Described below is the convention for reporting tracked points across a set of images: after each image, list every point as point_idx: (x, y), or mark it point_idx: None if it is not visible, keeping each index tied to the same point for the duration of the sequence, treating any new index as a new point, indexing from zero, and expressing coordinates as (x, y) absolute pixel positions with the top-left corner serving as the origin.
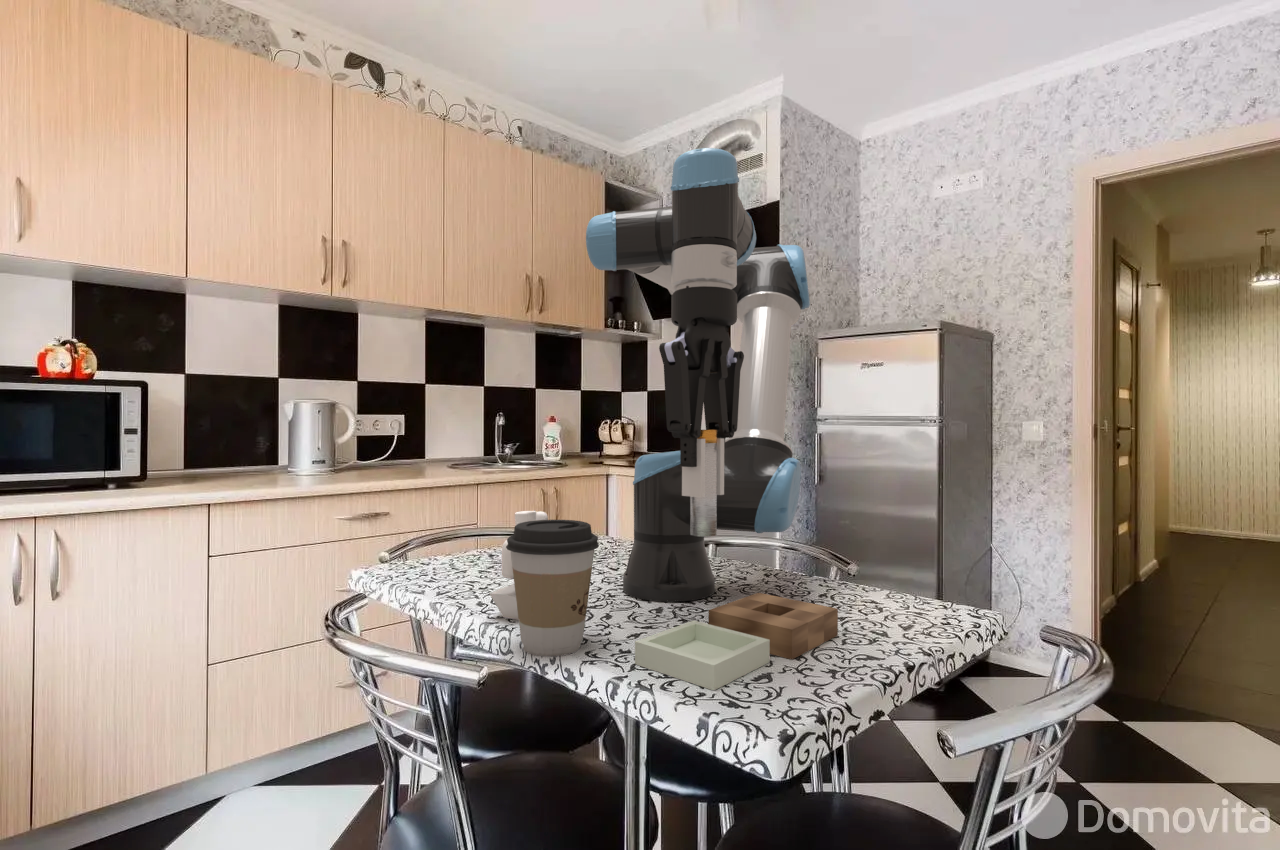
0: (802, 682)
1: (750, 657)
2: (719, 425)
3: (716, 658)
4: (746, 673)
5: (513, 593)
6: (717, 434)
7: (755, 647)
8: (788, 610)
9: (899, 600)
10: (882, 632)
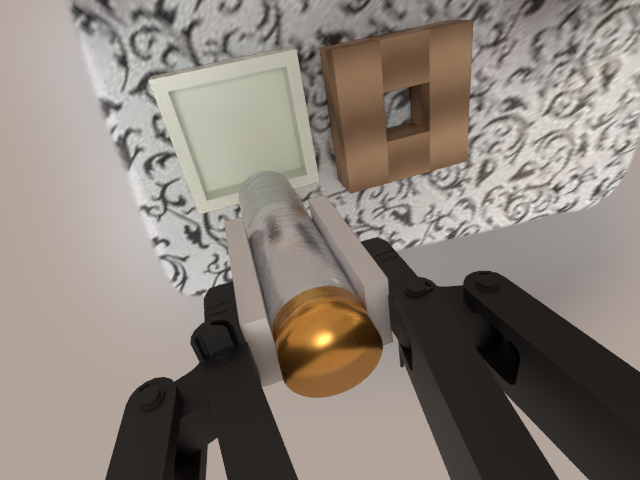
0: None
1: None
2: (407, 367)
3: (216, 199)
4: None
5: None
6: (396, 331)
7: None
8: (427, 117)
9: (630, 96)
10: (489, 171)
